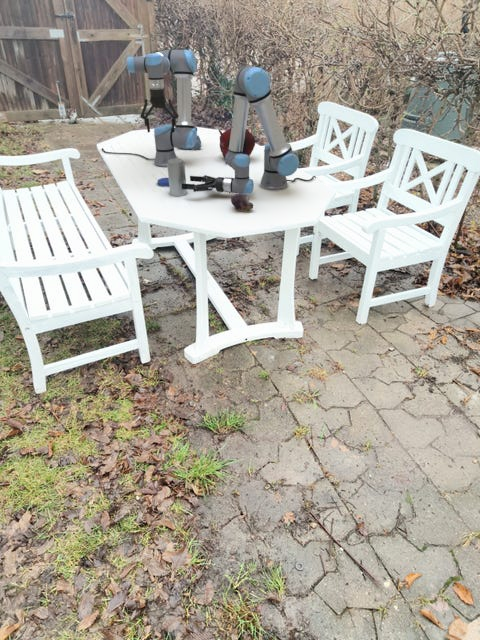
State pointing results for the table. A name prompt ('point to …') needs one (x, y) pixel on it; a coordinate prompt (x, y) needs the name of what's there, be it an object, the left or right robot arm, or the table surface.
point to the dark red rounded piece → (247, 147)
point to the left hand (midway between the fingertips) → (161, 132)
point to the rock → (241, 202)
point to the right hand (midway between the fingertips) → (186, 182)
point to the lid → (163, 182)
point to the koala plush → (198, 142)
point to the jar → (176, 177)
